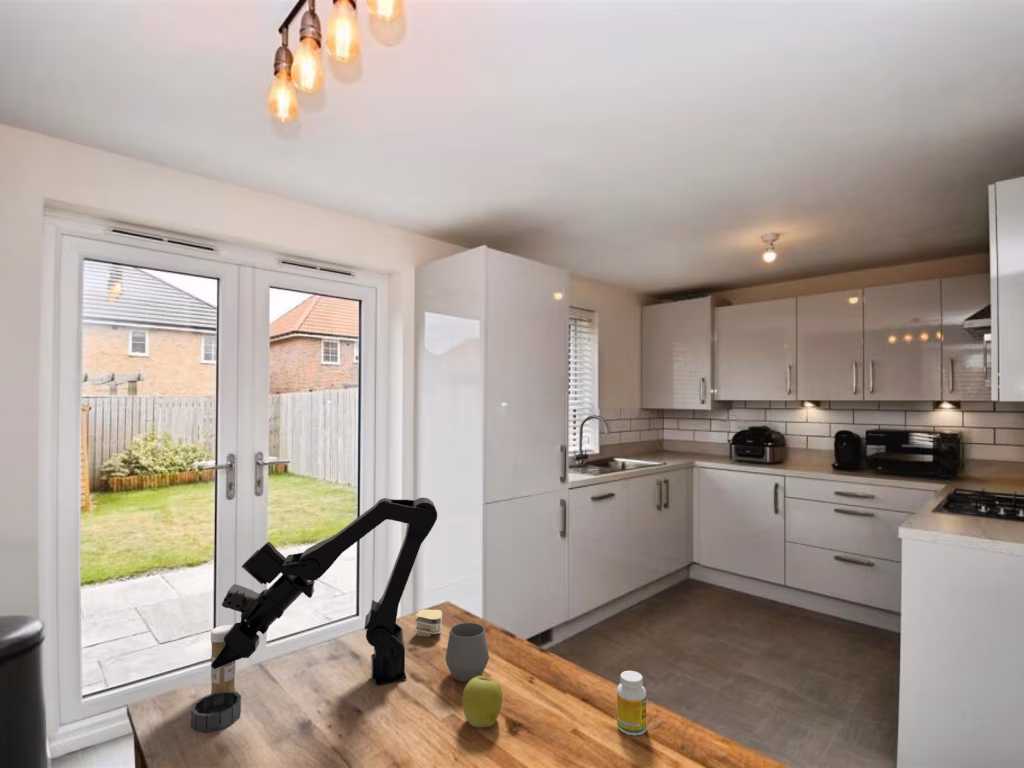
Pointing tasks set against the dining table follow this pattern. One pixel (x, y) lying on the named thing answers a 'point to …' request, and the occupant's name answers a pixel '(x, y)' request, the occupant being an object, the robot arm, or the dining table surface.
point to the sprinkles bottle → (226, 673)
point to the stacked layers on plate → (428, 622)
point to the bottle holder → (215, 711)
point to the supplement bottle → (631, 704)
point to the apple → (482, 701)
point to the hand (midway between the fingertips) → (219, 656)
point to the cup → (467, 651)
